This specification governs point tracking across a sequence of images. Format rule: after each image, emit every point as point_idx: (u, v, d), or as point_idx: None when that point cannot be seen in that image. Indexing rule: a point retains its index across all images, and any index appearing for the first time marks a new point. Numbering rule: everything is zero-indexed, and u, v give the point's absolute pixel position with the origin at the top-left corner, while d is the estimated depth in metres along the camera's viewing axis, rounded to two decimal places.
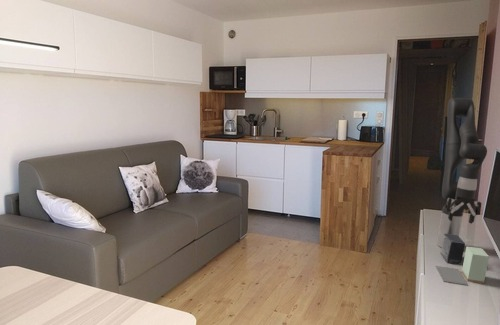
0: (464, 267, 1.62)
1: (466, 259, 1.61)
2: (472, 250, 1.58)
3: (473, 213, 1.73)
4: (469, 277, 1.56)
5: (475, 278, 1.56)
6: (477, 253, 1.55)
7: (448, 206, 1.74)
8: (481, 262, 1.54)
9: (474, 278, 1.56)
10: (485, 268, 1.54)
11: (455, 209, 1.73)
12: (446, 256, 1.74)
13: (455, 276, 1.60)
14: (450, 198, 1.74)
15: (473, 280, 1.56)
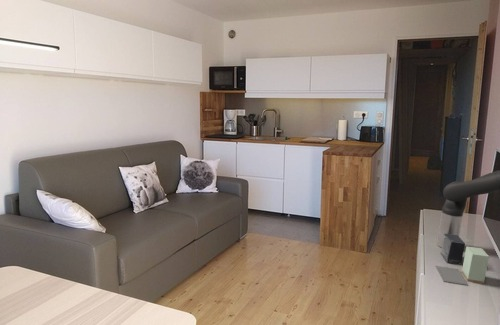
0: (464, 267, 1.62)
1: (466, 259, 1.61)
2: (472, 250, 1.58)
3: None
4: (469, 277, 1.56)
5: (475, 278, 1.56)
6: (477, 253, 1.55)
7: None
8: (481, 262, 1.54)
9: (474, 278, 1.56)
10: (485, 268, 1.54)
11: None
12: (446, 256, 1.74)
13: (455, 276, 1.60)
14: None
15: (473, 280, 1.56)
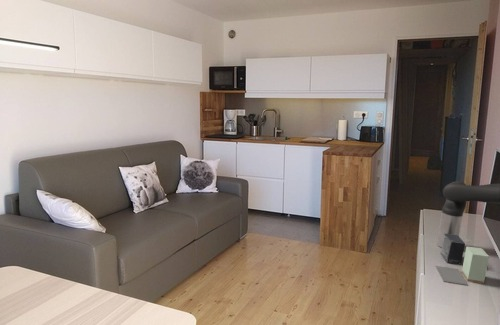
0: (464, 267, 1.62)
1: (466, 259, 1.61)
2: (472, 250, 1.58)
3: None
4: (469, 277, 1.56)
5: (475, 278, 1.56)
6: (477, 253, 1.55)
7: None
8: (481, 262, 1.54)
9: (474, 278, 1.56)
10: (485, 268, 1.54)
11: None
12: (446, 256, 1.74)
13: (455, 276, 1.60)
14: None
15: (473, 280, 1.56)
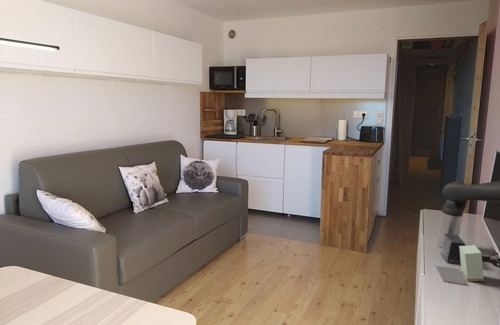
0: (462, 267, 1.62)
1: (462, 259, 1.61)
2: (465, 249, 1.59)
3: None
4: (468, 277, 1.56)
5: (474, 276, 1.56)
6: (469, 251, 1.56)
7: None
8: (476, 260, 1.54)
9: (473, 277, 1.56)
10: (481, 265, 1.54)
11: None
12: (446, 256, 1.74)
13: (455, 276, 1.60)
14: None
15: (473, 279, 1.56)
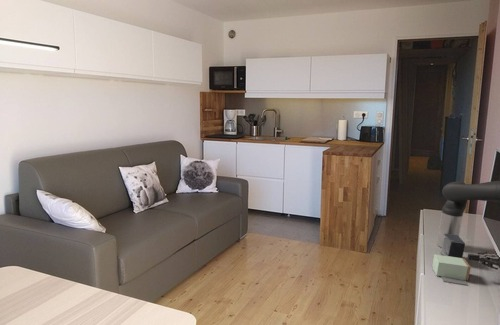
0: None
1: None
2: (434, 268, 1.63)
3: None
4: (463, 278, 1.57)
5: (464, 273, 1.56)
6: (436, 268, 1.60)
7: None
8: (445, 268, 1.58)
9: (464, 274, 1.57)
10: (452, 265, 1.57)
11: None
12: None
13: None
14: None
15: (466, 275, 1.56)
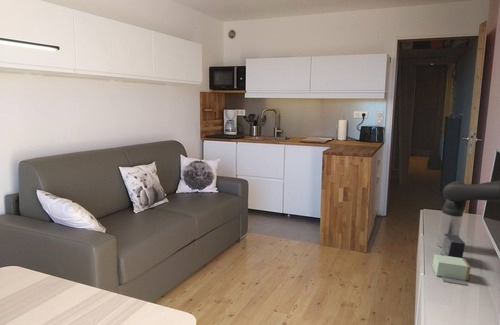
0: None
1: None
2: (434, 268, 1.63)
3: None
4: (463, 278, 1.57)
5: (464, 273, 1.56)
6: (436, 268, 1.60)
7: None
8: (445, 268, 1.58)
9: (464, 274, 1.57)
10: (452, 265, 1.57)
11: None
12: None
13: None
14: None
15: (466, 275, 1.56)
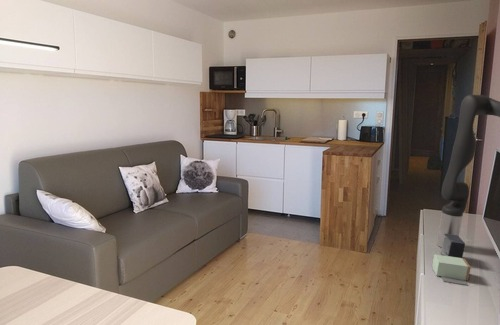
0: None
1: None
2: (434, 268, 1.63)
3: None
4: (463, 278, 1.57)
5: (464, 273, 1.56)
6: (436, 268, 1.60)
7: None
8: (445, 268, 1.58)
9: (464, 274, 1.57)
10: (452, 265, 1.57)
11: None
12: None
13: None
14: None
15: (466, 275, 1.56)
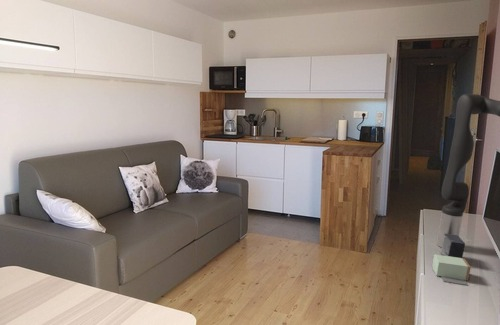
0: None
1: None
2: (434, 268, 1.63)
3: None
4: (463, 278, 1.57)
5: (464, 273, 1.56)
6: (436, 268, 1.60)
7: None
8: (445, 268, 1.58)
9: (464, 274, 1.57)
10: (452, 265, 1.57)
11: None
12: None
13: None
14: None
15: (466, 275, 1.56)
